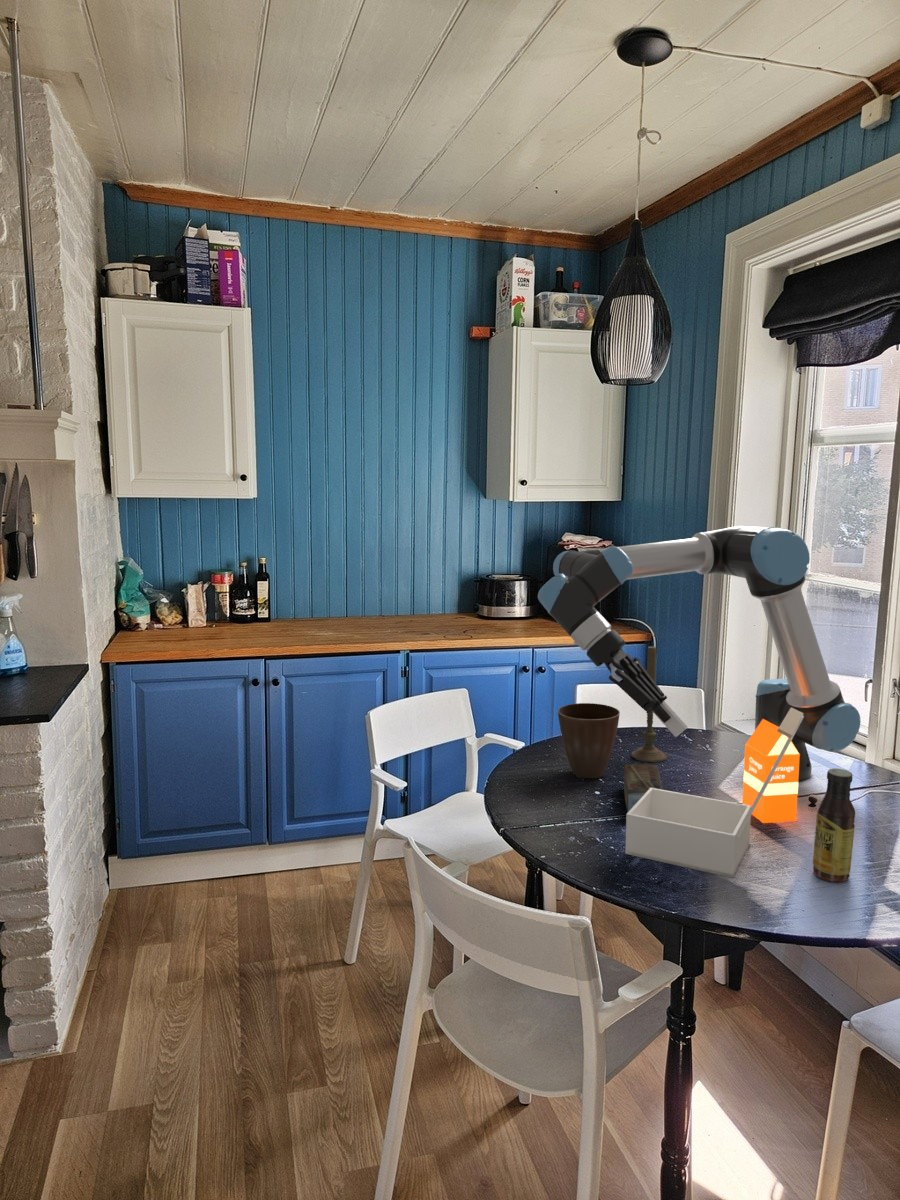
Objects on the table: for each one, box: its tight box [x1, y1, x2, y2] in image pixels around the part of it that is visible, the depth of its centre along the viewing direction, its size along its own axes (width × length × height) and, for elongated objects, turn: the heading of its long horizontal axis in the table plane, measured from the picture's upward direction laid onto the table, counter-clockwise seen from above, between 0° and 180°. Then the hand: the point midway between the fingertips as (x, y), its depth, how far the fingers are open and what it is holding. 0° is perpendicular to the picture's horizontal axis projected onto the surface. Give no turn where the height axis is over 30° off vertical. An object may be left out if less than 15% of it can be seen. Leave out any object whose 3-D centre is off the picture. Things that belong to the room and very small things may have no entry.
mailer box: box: [624, 788, 752, 879], centre depth 159 cm, size 20×16×8 cm
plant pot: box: [557, 702, 621, 780], centre depth 200 cm, size 15×15×16 cm
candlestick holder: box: [630, 643, 668, 764], centre depth 211 cm, size 9×9×30 cm
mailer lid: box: [737, 707, 804, 837], centre depth 150 cm, size 21×17×3 cm
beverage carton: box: [623, 763, 663, 813], centre depth 182 cm, size 8×19×7 cm, turn 170°
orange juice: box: [742, 719, 800, 824], centre depth 175 cm, size 8×9×20 cm
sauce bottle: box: [812, 767, 856, 883], centre depth 146 cm, size 7×6×20 cm
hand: (681, 732), depth 157 cm, fingers closed
